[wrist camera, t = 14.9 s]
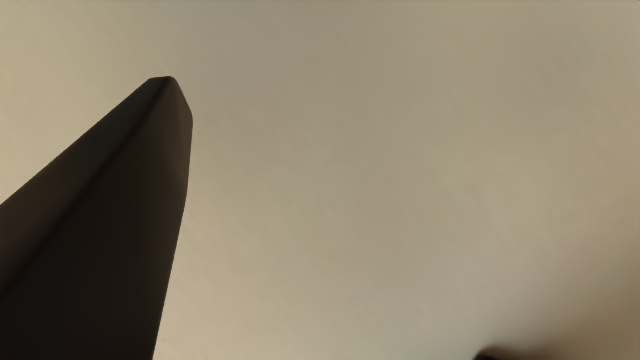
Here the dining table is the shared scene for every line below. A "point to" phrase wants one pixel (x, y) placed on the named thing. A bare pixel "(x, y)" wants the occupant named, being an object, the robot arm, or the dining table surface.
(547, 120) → the dining table surface
